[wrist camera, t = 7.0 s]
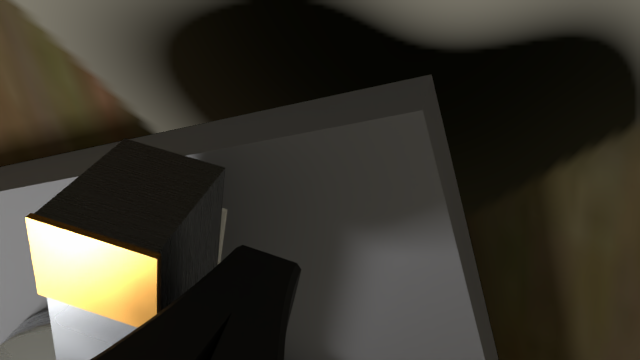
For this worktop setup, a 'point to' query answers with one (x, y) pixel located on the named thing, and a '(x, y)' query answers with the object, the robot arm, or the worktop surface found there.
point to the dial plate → (315, 221)
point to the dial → (118, 249)
